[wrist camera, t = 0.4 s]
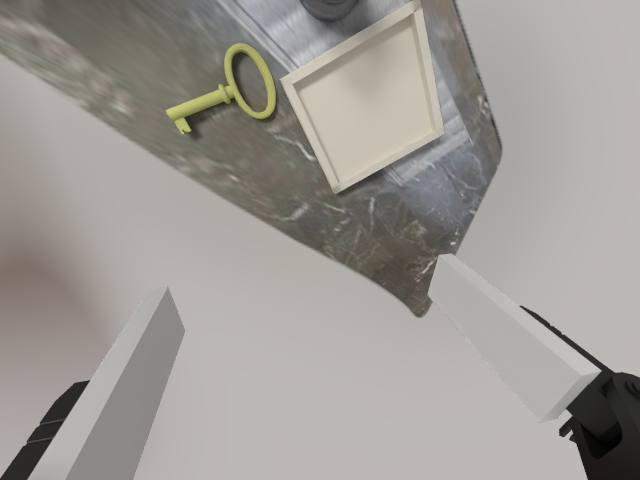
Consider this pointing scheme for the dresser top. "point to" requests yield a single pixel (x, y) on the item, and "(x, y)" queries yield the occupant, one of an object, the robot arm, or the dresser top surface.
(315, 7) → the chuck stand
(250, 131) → the dresser top surface
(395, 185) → the dresser top surface
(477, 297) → the robot arm
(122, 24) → the dresser top surface
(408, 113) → the tray
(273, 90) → the key
